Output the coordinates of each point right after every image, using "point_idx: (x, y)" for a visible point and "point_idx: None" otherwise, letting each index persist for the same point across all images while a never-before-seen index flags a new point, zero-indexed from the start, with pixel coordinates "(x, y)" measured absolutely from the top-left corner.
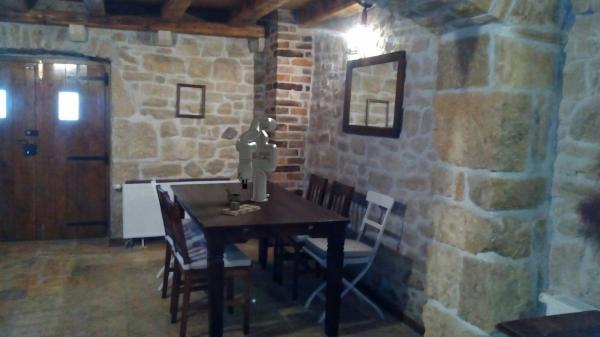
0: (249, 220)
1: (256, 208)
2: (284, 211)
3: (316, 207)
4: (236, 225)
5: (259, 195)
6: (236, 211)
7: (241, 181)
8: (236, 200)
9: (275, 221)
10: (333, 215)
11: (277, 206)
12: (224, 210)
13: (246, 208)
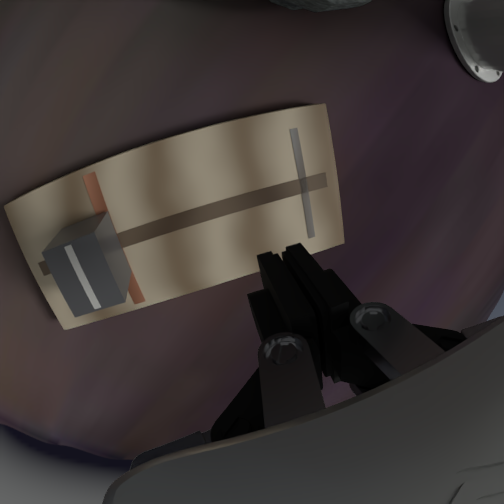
0: (105, 417)
1: None
2: None
3: (485, 313)
4: (35, 436)
5: (491, 52)
6: None
7: (229, 416)
8: (296, 4)
9: None
10: None
11: (446, 219)
12: (19, 236)
13: (208, 255)
